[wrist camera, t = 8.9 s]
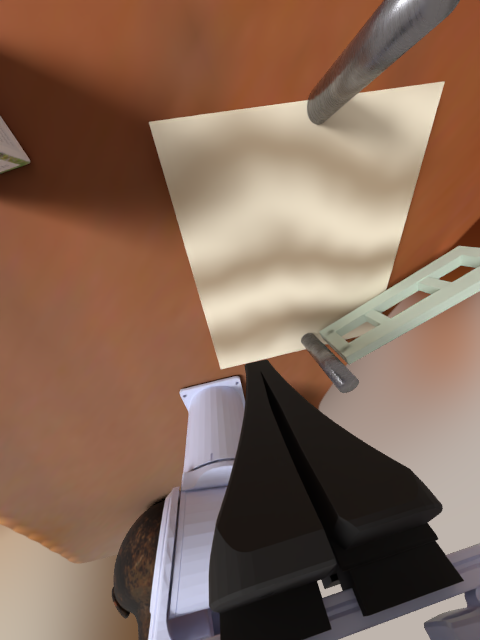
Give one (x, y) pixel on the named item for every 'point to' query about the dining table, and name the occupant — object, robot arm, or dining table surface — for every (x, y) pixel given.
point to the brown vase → (138, 568)
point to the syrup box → (10, 150)
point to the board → (293, 211)
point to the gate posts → (348, 80)
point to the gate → (415, 315)
